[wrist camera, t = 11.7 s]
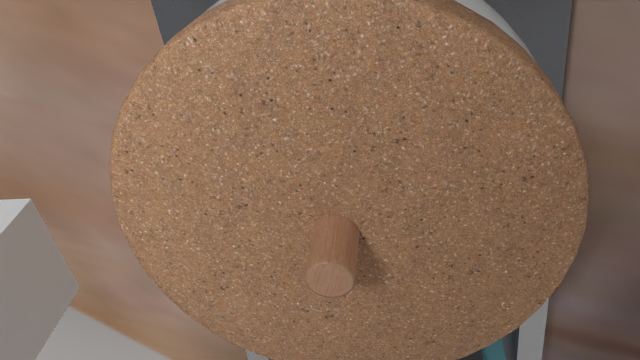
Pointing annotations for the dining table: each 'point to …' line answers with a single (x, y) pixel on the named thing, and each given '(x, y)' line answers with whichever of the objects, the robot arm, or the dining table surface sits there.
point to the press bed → (545, 47)
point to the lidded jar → (350, 177)
